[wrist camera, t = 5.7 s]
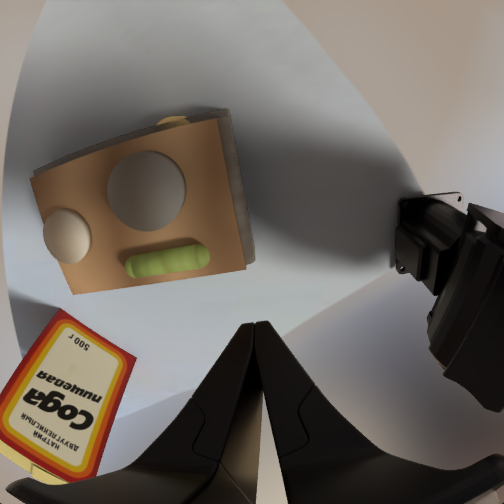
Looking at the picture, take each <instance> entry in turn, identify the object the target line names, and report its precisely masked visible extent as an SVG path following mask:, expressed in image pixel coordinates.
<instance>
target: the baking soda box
mask: <svg viewBox="0 0 504 504" xmlns="http://www.w3.org/2000/svg"><path fill="white" fill-rule="evenodd" d="M136 359H137V358H136V357H134V356H133V355H131V354H129V353H128V352H126V351H124V350H123V349H121V348H119V347H118V346H116V345H114V344H113V343H111V342H110V341H108V340H106V339H105V338H103V337H102V336H100V335H99V334H97V333H96V332H94V331H93V330H91V329H90V328H88V327H87V326H85V325H84V324H82V323H81V322H79V321H78V320H76V319H75V318H73V317H72V316H71V315H69V314H68V313H66V312H65V311H64V310H62V309H61V308H60V309H59V311H58V312H57V313H56V314H55V316H54V317H53V318H52V320H51V321H50V322H49V324H48V325H47V326H46V327H45V329H44V330H43V332H42V333H41V334H40V336H39V337H38V338H37V340H36V341H35V342H34V344H33V345H32V347H31V348H30V350H29V351H28V352H27V354H26V355H25V357H24V358H23V360H22V361H21V363H20V364H19V366H18V367H17V369H16V370H15V372H14V373H13V375H12V376H11V378H10V379H9V381H8V383H7V384H6V386H5V387H4V389H3V390H2V392H1V394H0V453H2V454H3V455H4V456H6V457H7V458H8V459H10V460H11V461H13V462H14V463H16V464H17V465H19V466H20V467H22V468H23V469H25V470H26V471H28V472H29V473H31V474H32V477H34V478H36V479H37V480H40V481H41V482H43V483H45V484H50V485H61V484H67V483H72V482H76V481H80V480H85V479H89V478H93V477H96V475H97V472H98V468H99V465H100V462H101V458H102V455H103V452H104V449H105V446H106V443H107V440H108V437H109V434H110V431H111V427H112V425H113V422H114V419H115V416H116V413H117V410H118V407H119V405H120V402H121V399H122V396H123V394H124V391H125V388H126V385H127V383H128V380H129V377H130V375H131V372H132V370H133V367H134V364H135V362H136Z"/></svg>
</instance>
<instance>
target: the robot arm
mask: <svg viewBox="0 0 504 504" xmlns="http://www.w3.org/2000/svg"><path fill="white" fill-rule="evenodd" d="M458 196H459V199H458V200H457V198H458ZM405 202H406V205H405V206H404V207H403V204H404V203H405ZM467 211H468V213H467V215H466V214H464V213H463V194H461V193H460V192H449V193H440V194H430V195H421V196H412V197H403V198H401V199H400V200H399V202H398V225H397V226H396V234H395V256H396V270H397V272H398V273H399V274H406V273H411V275H412V276H413V277H414V278H415V279H416V280H417V281H422V282H423V283H424V284H425V286H426V287H427V288H428V289H429V290H430V292H431V293H432V294H433V295H434V296H437V295H438V297H437V299H436V302H435V304H434V306H433V308H432V311H430V312H429V314H428V316H427V322H428V329H427V334H428V337H429V341H430V345H429V350H430V352H431V354H432V355H433V356H434V358H435V359H436V360H437V361H438V363H439V364H440V365H441V367H442V368H443V369H444V370H445V371H444V373H443V375H444V376H445V377H446V378H448V379H450V380H453V381H455V382H457V383H458V384H460V385H461V386H463V387H464V388H465V389H467V390H468V391H469V392H470V393H471V394H472V395H473V396H474V397H475V398H476V399H477V400H478V401H479V403H480V404H481V405H482V406H483V407H484V408H485V409H488V410H491V411H494V412H501V411H502V410H503V409H504V213H501V212H498V211H494V210H492V209H488V208H485V207H482V206H479V205H475V204H472V203H469V204H468V208H467ZM402 266H403V268H402V269H400V268H401V267H402ZM263 392H264V396H265V401H266V406H267V410H268V415H269V419H270V424H271V428H272V433H273V437H274V442H275V446H276V450H277V455H278V459H279V463H280V468H281V472H282V477H283V482H284V486H285V491H286V496H287V500H288V504H500V501H499V499H498V496H497V493H496V490H497V489H498V488H500V487H501V486H502V485H504V456H503V455H500V454H492V455H490V456H488V457H486V458H484V459H482V460H480V461H478V462H477V463H475V464H473V465H471V466H469V467H466V468H463V469H458V470H444V469H438V468H434V467H430V466H427V465H423V464H419V463H416V462H413V461H410V460H406V459H403V458H400V457H397V456H394V455H391V454H389V453H386V452H384V451H383V450H381V449H379V448H378V447H377V446H375V445H374V444H373V443H372V442H371V441H370V440H368V439H367V438H366V437H365V436H364V435H363V434H362V433H361V432H360V431H358V430H357V429H356V428H355V427H354V426H353V425H352V424H351V423H350V422H349V421H348V420H346V418H344V417H343V416H342V415H341V414H340V413H339V412H338V411H337V410H336V409H335V407H334V406H333V405H332V404H331V403H330V402H329V401H328V400H327V398H326V397H325V396H324V395H323V394H322V392H321V391H320V390H319V388H318V387H317V386H316V385H315V383H314V382H313V380H312V379H311V378H310V376H309V375H308V374H307V372H306V371H305V370H304V368H303V367H302V366H301V364H300V363H299V362H298V360H297V359H296V358H295V356H294V355H293V354H292V352H291V351H290V350H289V348H288V347H287V345H286V344H285V343H284V341H283V340H282V339H281V337H280V336H279V334H278V333H277V332H276V330H275V329H274V328H273V326H272V325H271V323H270V322H269V321H259V322H256V323H253V322H252V323H244V324H242V325H241V326H240V327H239V329H238V330H237V331H236V333H235V334H234V336H233V337H232V339H231V340H230V342H229V343H228V345H227V346H226V348H225V349H224V351H223V352H222V353H221V355H220V356H219V358H218V359H217V361H216V362H215V364H214V365H213V367H212V368H211V369H210V371H209V372H208V374H207V375H206V377H205V378H204V379H203V381H202V382H201V384H200V385H199V387H198V388H197V389H196V391H195V392H194V394H193V395H192V398H190V399H189V401H188V402H187V403H186V405H185V406H184V408H183V409H182V410H181V411H180V413H179V414H178V415H177V417H176V418H175V419H174V420H173V421H172V423H171V424H170V425H169V426H168V427H167V428H166V429H165V430H164V431H163V433H162V434H161V435H160V436H159V437H158V438H157V439H156V440H155V441H154V442H153V443H152V444H151V445H150V446H149V447H148V448H147V449H146V450H145V451H144V452H143V453H142V454H141V456H139V457H138V458H137V459H136V460H135V461H134V462H132V463H131V464H130V465H128V466H127V467H125V468H123V469H121V470H117V471H114V472H111V473H107V474H104V475H100V476H96V477H93V478H89V479H85V480H80V481H76V482H72V483H67V484H61V485H50V484H45V483H41V482H39V481H37V480H34V479H32V478H28V477H27V478H24V479H20V480H17V481H14V482H13V483H11V484H10V485H8V486H7V488H6V491H7V492H8V493H10V494H11V495H13V496H14V497H16V498H17V499H19V500H20V501H22V502H23V503H25V504H256V493H257V479H258V466H259V452H260V436H261V420H262V404H263ZM0 504H1V503H0ZM503 504H504V503H503Z"/></svg>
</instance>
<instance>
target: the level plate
mask: <svg viewBox="0 0 504 504" xmlns="http://www.w3.org/2000/svg"><path fill="white" fill-rule="evenodd" d="M30 181H31V185H32V188H33V192H34V195H35V198H36V202H37V205H38V208H39V211H40V214H41V217H42V220H43V223H44V228H43V236H44V241H45V244H46V246H47V248H48V250H49V251H50V253H51V254H52V255H53V256H54V257H55V258H56V259H57V260H58V262H59V265H60V267H61V269H62V272H63V274H64V276H65V278H66V281H67V283H68V285H69V287H70V289H71V292H72V294H73V295H76V294H83V293H90V292H98V291H105V290H112V289H119V288H126V287H133V286H140V285H147V284H154V283H161V282H168V281H174V280H181V279H188V278H194V277H201V276H207V275H214V274H220V273H227V272H233V271H239V270H246V265H248V264H251V263H253V262H254V261H255V254H254V249H253V243H252V238H251V233H250V227H249V222H248V217H247V211H246V206H245V201H244V195H243V190H242V185H241V179H240V174H239V169H238V164H237V158H236V153H235V148H234V142H233V137H232V132H231V127H230V121H229V116H227V117H221V118H215V119H210V120H205V121H201V122H196V123H192V124H188V125H183V126H179V127H175V128H171V129H168V130H164V131H160V132H156V133H153V134H149V135H146V136H142V137H139V138H136V139H132V140H129V141H126V142H123V143H120V144H117V145H114V146H111V147H108V148H105V149H102V150H99V151H96V152H93V153H91V154H88V155H85V156H83V157H80V158H77V159H75V160H72V161H70V162H67V163H65V164H62V165H60V166H57V167H55V168H53V169H50V170H48V171H46V172H43V173H41V174H39V175H37V176H35V177H32V178H30Z"/></svg>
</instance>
